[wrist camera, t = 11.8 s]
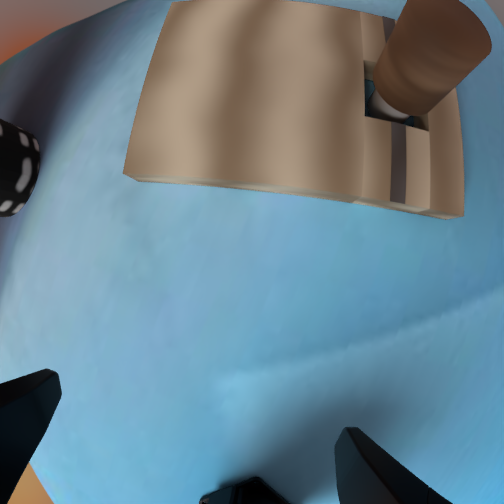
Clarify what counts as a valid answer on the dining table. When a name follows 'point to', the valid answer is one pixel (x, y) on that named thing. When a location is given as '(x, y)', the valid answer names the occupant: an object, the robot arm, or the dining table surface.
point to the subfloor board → (288, 110)
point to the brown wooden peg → (426, 58)
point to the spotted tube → (16, 167)
